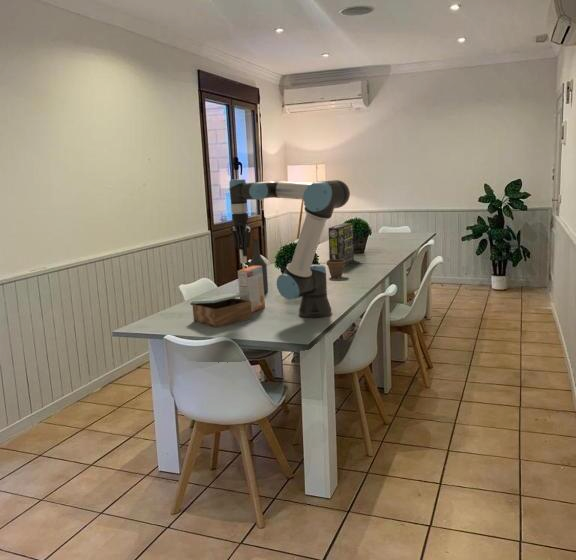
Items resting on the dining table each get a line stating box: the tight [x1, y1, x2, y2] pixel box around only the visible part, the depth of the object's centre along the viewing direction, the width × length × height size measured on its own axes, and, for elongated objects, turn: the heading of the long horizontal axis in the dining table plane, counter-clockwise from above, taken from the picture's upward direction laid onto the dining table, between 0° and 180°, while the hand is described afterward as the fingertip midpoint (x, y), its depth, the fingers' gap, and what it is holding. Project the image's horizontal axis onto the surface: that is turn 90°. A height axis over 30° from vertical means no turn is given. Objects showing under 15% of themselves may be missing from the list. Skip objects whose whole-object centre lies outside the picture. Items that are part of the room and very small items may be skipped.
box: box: [328, 222, 355, 266], centre depth 398 cm, size 34×7×27 cm, turn 157°
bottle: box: [247, 238, 269, 294], centre depth 321 cm, size 10×10×30 cm
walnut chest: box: [190, 297, 253, 328], centre depth 268 cm, size 19×21×9 cm
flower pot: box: [326, 259, 346, 279], centre depth 355 cm, size 12×11×10 cm
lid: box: [191, 292, 250, 304], centre depth 267 cm, size 18×20×1 cm
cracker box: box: [237, 266, 266, 314], centre depth 282 cm, size 14×6×21 cm, turn 152°
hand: (243, 262), depth 275 cm, fingers closed
